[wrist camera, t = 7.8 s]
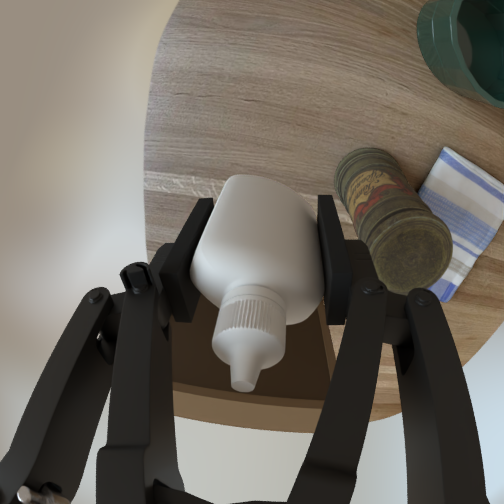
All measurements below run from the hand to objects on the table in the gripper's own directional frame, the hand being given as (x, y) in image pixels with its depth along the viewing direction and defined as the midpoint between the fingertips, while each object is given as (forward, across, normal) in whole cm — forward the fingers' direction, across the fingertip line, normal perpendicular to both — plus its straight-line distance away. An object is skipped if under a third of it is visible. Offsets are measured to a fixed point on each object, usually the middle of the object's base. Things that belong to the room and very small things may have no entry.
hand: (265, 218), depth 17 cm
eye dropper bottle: (+2, 0, 0) cm, 2 cm away
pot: (+23, +25, +14) cm, 37 cm away
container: (+23, +12, -6) cm, 26 cm away
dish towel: (+23, +26, -14) cm, 37 cm away
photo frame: (+23, -4, -21) cm, 31 cm away
